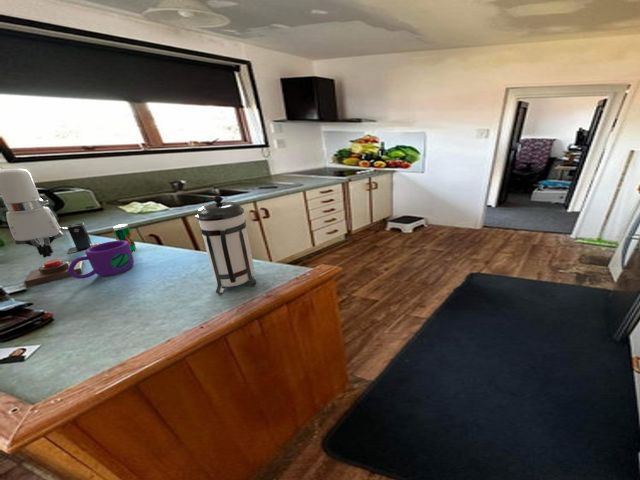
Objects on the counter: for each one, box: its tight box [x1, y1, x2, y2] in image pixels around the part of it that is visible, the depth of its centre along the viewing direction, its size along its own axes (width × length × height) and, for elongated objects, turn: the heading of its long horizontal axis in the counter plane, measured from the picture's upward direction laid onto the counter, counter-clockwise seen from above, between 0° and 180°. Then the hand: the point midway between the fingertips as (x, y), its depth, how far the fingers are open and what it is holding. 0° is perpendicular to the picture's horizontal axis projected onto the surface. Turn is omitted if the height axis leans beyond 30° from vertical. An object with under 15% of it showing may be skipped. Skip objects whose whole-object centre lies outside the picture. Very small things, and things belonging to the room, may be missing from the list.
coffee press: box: [195, 195, 257, 295], centre depth 85 cm, size 17×16×30 cm
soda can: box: [112, 223, 137, 253], centre depth 116 cm, size 5×5×12 cm
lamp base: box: [24, 260, 85, 288], centre depth 99 cm, size 13×11×4 cm
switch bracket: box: [67, 222, 102, 255], centre depth 119 cm, size 10×8×12 cm
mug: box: [68, 240, 135, 280], centre depth 97 cm, size 17×11×10 cm, turn 160°
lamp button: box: [43, 258, 62, 268], centre depth 98 cm, size 4×4×2 cm
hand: (47, 255), depth 97 cm, fingers closed
